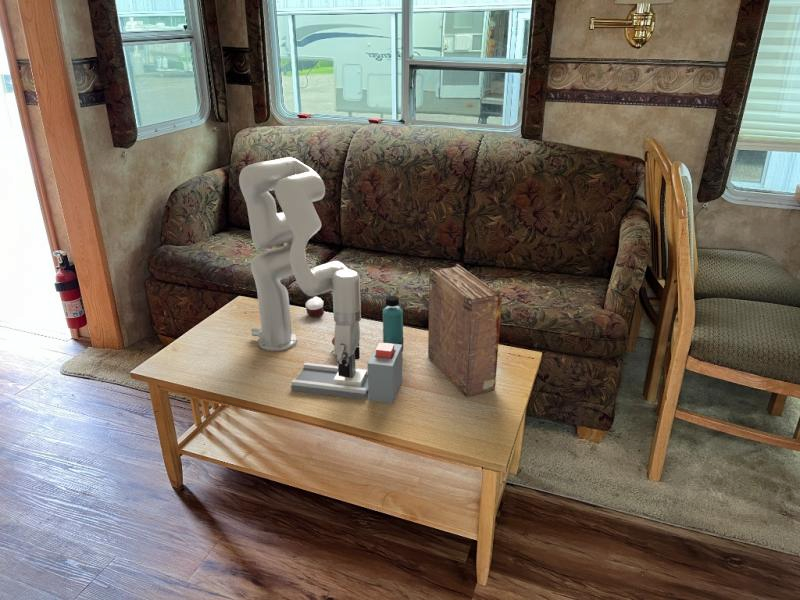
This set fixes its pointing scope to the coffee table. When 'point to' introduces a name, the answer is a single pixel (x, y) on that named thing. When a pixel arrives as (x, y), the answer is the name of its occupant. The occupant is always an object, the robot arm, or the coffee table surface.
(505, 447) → the coffee table surface
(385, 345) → the button
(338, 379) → the carriage
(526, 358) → the coffee table surface
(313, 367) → the rail bed
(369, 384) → the button cabinet
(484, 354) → the book
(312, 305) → the cocoa
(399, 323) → the beverage bottle
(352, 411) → the coffee table surface
